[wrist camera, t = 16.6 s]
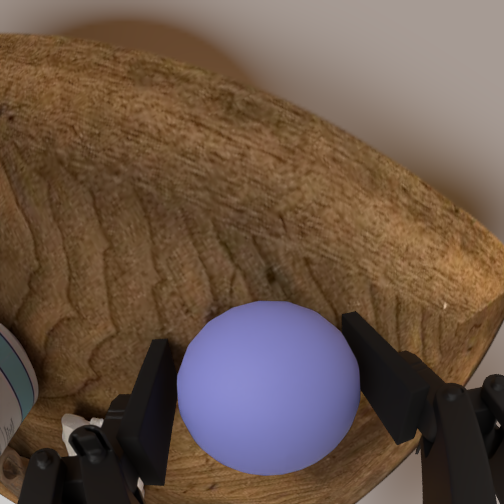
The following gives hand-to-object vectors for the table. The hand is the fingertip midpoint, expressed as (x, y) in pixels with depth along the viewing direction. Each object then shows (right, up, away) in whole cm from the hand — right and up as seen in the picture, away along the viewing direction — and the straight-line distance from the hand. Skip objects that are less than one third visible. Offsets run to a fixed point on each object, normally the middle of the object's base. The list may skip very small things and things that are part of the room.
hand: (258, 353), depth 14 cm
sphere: (0, 0, 0) cm, 1 cm away
